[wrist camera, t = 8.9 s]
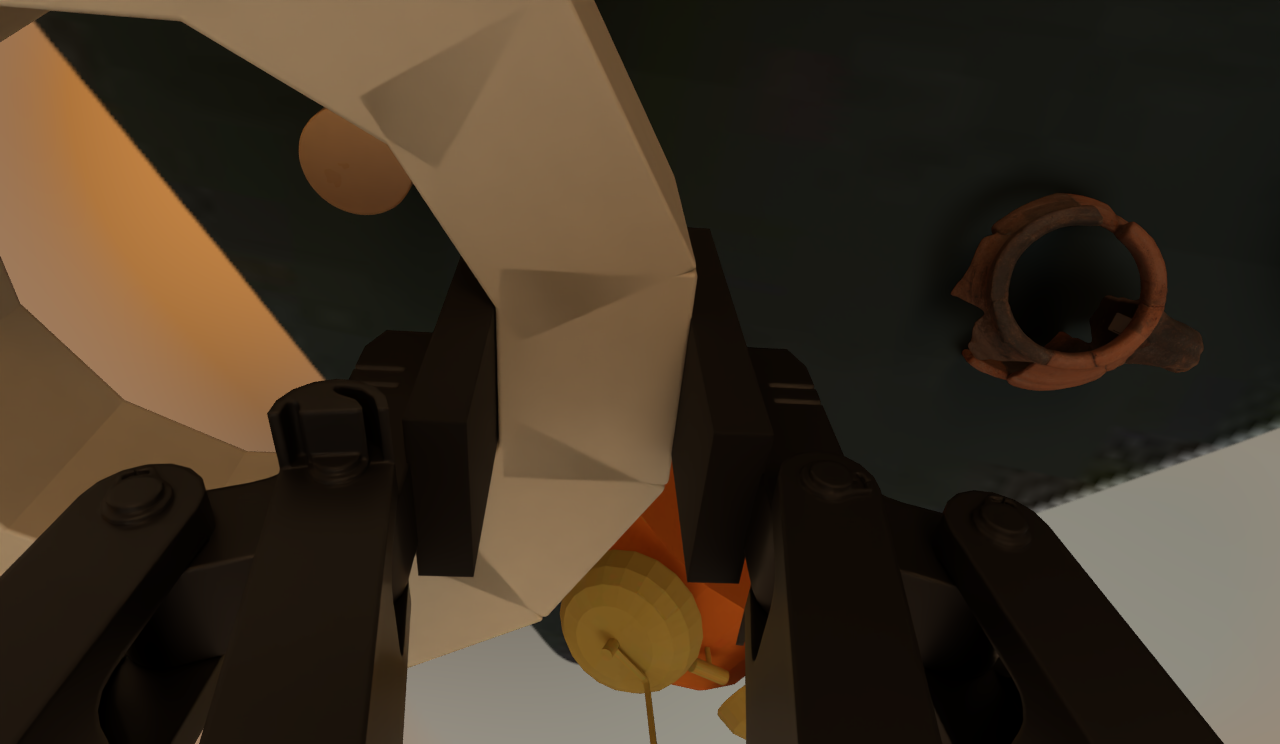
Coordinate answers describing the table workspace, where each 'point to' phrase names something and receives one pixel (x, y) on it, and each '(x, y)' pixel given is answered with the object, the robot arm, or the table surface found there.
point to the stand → (351, 166)
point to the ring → (492, 248)
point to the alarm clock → (657, 617)
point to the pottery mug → (1115, 325)
